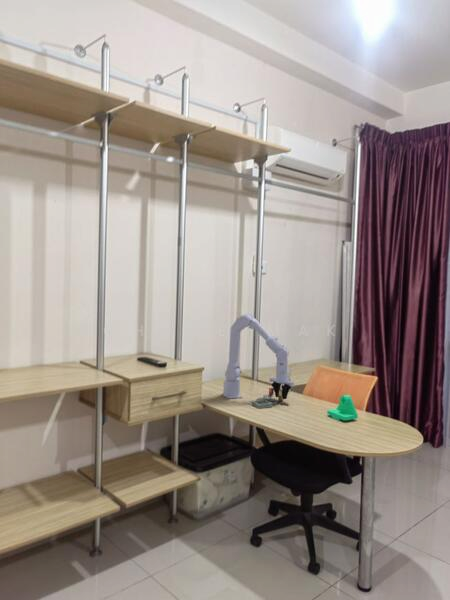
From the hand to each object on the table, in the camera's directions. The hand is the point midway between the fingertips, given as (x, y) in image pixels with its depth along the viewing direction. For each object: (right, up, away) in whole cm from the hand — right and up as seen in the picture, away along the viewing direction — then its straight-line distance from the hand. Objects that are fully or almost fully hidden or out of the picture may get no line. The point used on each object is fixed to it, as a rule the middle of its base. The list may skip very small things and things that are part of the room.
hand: (281, 397), depth 247 cm
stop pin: (0, -2, 0) cm, 2 cm away
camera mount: (+25, -4, -26) cm, 36 cm away
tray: (-11, -2, -10) cm, 15 cm away
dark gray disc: (-7, -2, -3) cm, 8 cm away
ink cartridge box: (+4, -1, +24) cm, 25 cm away
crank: (-6, 0, 0) cm, 6 cm away
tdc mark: (+1, -2, -6) cm, 7 cm away
